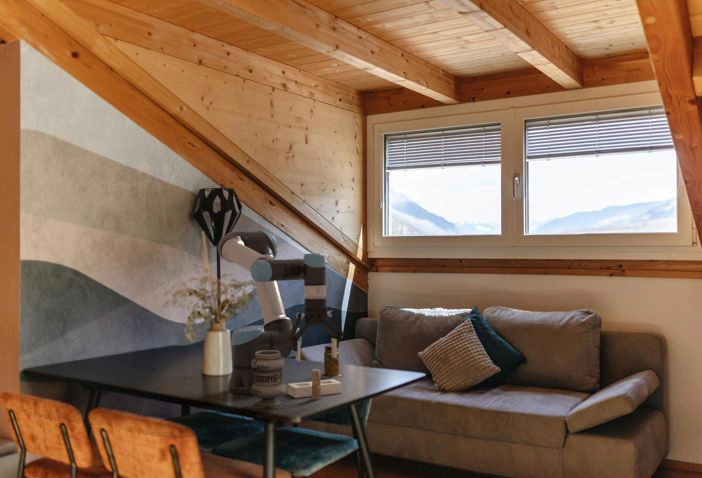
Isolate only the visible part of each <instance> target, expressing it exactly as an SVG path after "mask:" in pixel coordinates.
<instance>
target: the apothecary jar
mask: <svg viewBox="0 0 702 478" xmlns="http://www.w3.org/2000/svg"><path fill="white" fill-rule="evenodd" d="M250 366H251V368H252V369H253V370H254V383H253V384H252V385H251V387H250V391H251V393H252V394H251V395H253V396H254V397H257V398H259V399H261V400H259V401H257V402H255V403H254V404H253V408H256V409H259V410H260V409H261V410H262V409H263V410H267V409H270V410H273V409H278V408H282V407H283V406H284V403H283V402H281V401H279V400H277V398H279V397H282V396H283V395H284V394H285V393H286V392H287V390H288V388H287V385H286V383H284V380H283V379H284V377H283V369H284V368H285V367H286V360H285V358H282V357H281V353H280V351H277V350H264V351H258V352H256V353H255V357H254V359H253V360H252V361H251V363H250Z"/></svg>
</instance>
